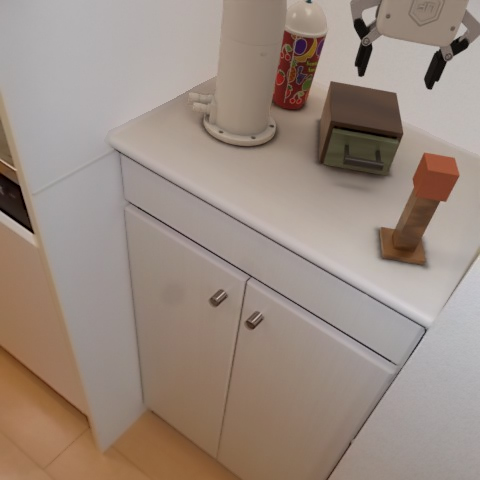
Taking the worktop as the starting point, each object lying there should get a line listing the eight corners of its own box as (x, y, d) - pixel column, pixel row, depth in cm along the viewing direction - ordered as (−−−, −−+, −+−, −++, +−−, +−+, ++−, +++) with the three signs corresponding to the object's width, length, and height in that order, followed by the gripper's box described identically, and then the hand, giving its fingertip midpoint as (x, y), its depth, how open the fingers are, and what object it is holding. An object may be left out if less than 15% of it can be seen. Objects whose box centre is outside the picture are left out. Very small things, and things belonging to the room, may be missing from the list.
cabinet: (387, 174, 87) (403, 133, 82) (318, 162, 87) (330, 120, 81) (381, 132, 96) (396, 92, 90) (319, 121, 96) (330, 80, 90)
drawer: (388, 192, 82) (401, 160, 78) (323, 181, 82) (333, 148, 78) (381, 135, 94) (392, 104, 89) (324, 125, 93) (332, 94, 89)
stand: (382, 258, 73) (408, 200, 66) (379, 230, 77) (404, 173, 70) (423, 265, 74) (454, 208, 66) (419, 237, 78) (447, 180, 70)
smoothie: (307, 117, 96) (336, -3, 81) (263, 107, 97) (283, -15, 81) (312, 96, 102) (340, -20, 87) (270, 87, 102) (290, -31, 87)
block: (415, 196, 67) (427, 169, 64) (412, 178, 69) (424, 152, 66) (446, 202, 67) (460, 175, 64) (441, 184, 69) (454, 157, 66)
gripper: (377, -75, 57) (333, 80, 70) (529, -44, 58) (458, 103, 71) (372, -92, 62) (332, 55, 75) (512, -63, 63) (449, 77, 76)
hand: (393, 78), depth 73 cm, fingers open, 9 cm apart
